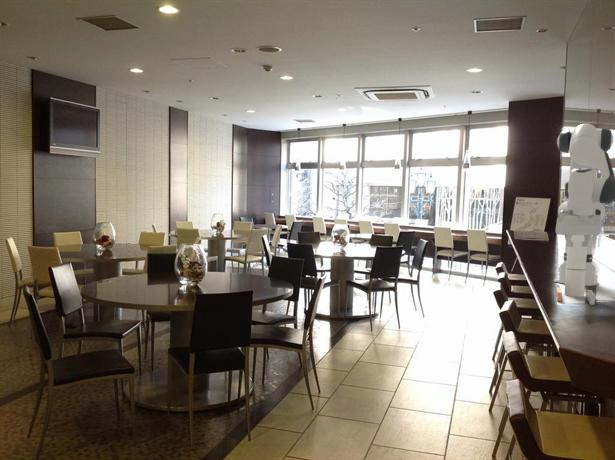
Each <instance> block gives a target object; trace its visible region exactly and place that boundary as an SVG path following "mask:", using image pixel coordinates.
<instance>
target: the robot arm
mask: <svg viewBox="0 0 615 460" xmlns="http://www.w3.org/2000/svg"><path fill="white" fill-rule="evenodd" d="M556 144H557V148H558V150H559V151H560V152H561V153H563V154H569V156H570V158H571V159H570V163H569V165H570V166H569V178H568V181H566V182H565V183H564V197H565V198H566V199H567V200H566V201H564V202H562V203H561V204H560V205H559V206H558V210H557V213H558V217H557V219H556V225H555V233H556V235H559V236H564V238H565V239H564V240H565V247H564V248H565V250H564V251H565V252H564V253H563V262H562V263H561V264H559V266H558V270H557V273H558V276H559V277H557V278H555V279H553V280H554V282H555V283H561V284H564V285H565V278H566V260H567V247H573V243H574V242H572V241H571V238H572V235H584V237H585V239H584V241H583V242H582V247H587V257H586V274H585V287H586V286H588V287H589V286H590V287H591V286H600V282H599V281H596V271H597V269H596V266H595V265H594V264H593V258H594V257H593V236H600V234H601V233H602V225H603V224H602V222H603V221H602V220H603V219H604V218H605V216H606V208H605V206H604V204H606V205H610V204H612V203H613V202H615V173H614V168H613V165H612V162H611V159H610V156H609V153H608V151H610V150H611V148H612V146H613V144H614V135H613V133H612V130H611V129H609V128H605V127H604V128H603V127H601V128H599V127H598V128H597V127H595V125H593V124H591V123H582V124H578V125H577V126H576V127H575V128H574V129H564V130H562V131H561V132H559V135H558V137H557V139H556ZM597 171H599V172H600V174H601V175H600V176H601V177H597V174H598V173H597Z"/></svg>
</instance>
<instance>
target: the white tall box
mask: <svg viewBox="0 0 615 460" xmlns="http://www.w3.org/2000/svg"><path fill="white" fill-rule="evenodd" d="M584 239H585V237H584V235H572V238H571V241H572V242H574V243H573V247H567V260H566V278H565V284H564V295H565V296H567V297H575V298H583V297H585V287H586V286H585V274H586V257H587V247H582V242H583V241H584Z"/></svg>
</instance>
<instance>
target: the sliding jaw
mask: <svg viewBox="0 0 615 460" xmlns="http://www.w3.org/2000/svg"><path fill="white" fill-rule="evenodd" d="M554 293H555V297H556V298H555V299H556V301H558V302H562V298H563V297H562V295H563V292H562V290H561V287H560V284H555V289H554Z"/></svg>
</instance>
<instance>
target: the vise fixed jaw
mask: <svg viewBox="0 0 615 460" xmlns="http://www.w3.org/2000/svg"><path fill="white" fill-rule="evenodd" d="M586 291H587V292H586V299H587V301H588V303H589V304H590V305H591V306H592V305H593V306H595V305H596V304H595V302H596V294H595V293H594V292H593V290H592V289H587V290H586Z"/></svg>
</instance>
